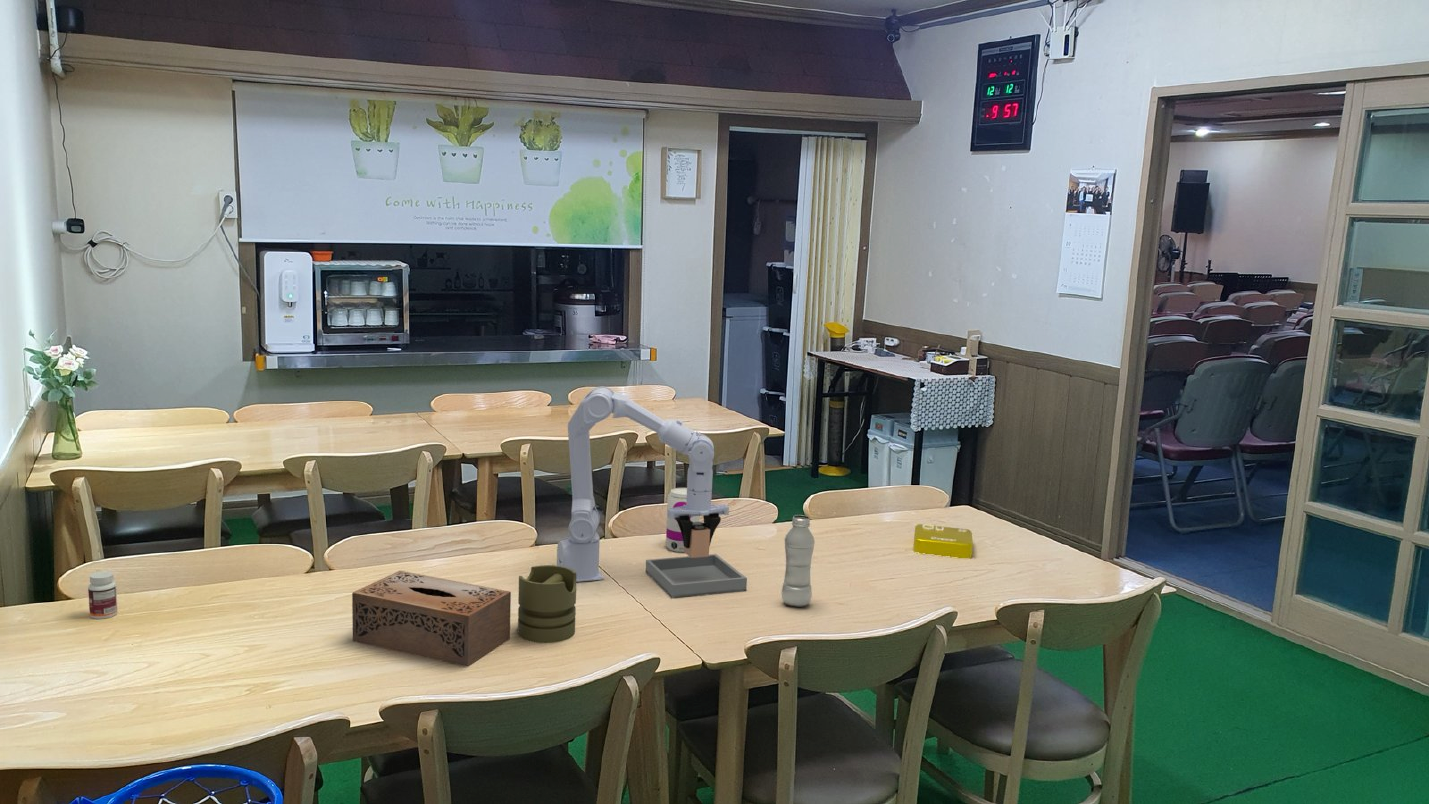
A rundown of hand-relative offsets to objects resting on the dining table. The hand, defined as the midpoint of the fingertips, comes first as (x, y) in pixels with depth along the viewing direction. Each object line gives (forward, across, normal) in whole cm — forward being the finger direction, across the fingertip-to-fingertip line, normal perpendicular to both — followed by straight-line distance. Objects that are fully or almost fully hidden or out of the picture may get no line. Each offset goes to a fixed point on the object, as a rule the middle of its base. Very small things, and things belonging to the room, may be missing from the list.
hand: (696, 546), depth 242 cm
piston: (+9, -40, -20) cm, 46 cm away
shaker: (+2, 0, 0) cm, 2 cm away
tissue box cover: (+9, -62, -18) cm, 65 cm away
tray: (+8, 0, 0) cm, 8 cm away
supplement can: (+9, +6, +24) cm, 26 cm away
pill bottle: (+9, -121, +12) cm, 122 cm away
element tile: (+9, +74, +7) cm, 75 cm away
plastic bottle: (+9, +16, -20) cm, 27 cm away
